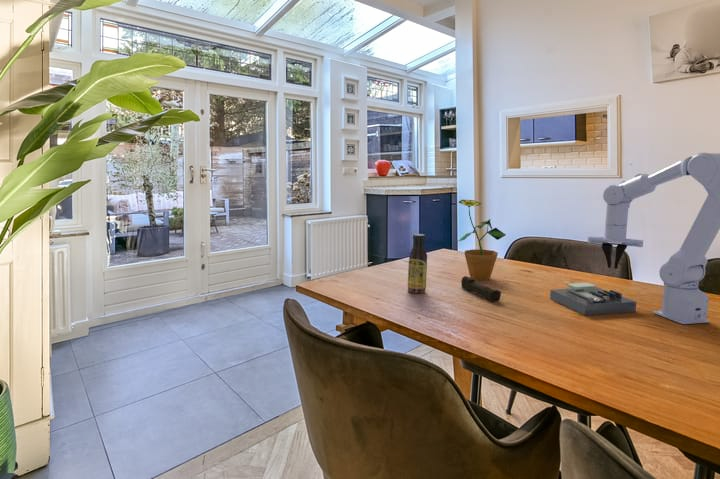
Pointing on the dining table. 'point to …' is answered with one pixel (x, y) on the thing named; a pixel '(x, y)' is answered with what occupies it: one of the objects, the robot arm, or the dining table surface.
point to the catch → (583, 287)
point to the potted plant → (480, 259)
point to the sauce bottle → (417, 265)
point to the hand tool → (480, 289)
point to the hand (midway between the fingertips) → (612, 267)
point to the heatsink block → (589, 307)
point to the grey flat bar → (585, 294)
